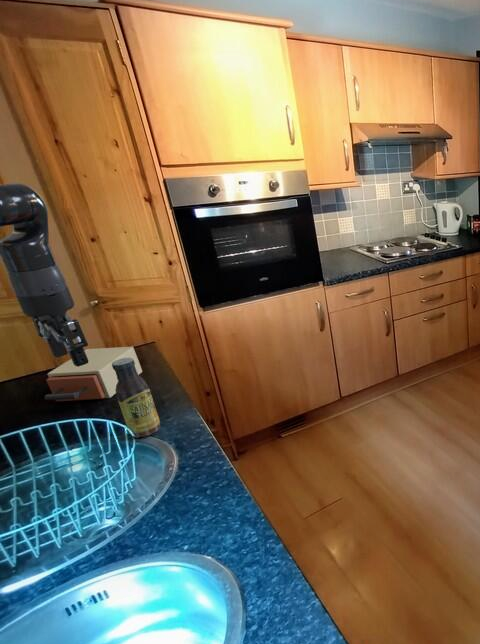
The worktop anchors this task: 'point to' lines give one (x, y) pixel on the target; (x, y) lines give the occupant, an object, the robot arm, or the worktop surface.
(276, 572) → the worktop surface
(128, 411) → the sauce bottle
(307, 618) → the worktop surface
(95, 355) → the drawer cabinet
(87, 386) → the reddish brown drawer
